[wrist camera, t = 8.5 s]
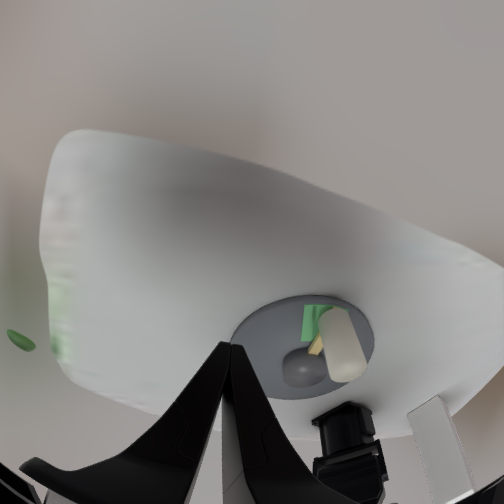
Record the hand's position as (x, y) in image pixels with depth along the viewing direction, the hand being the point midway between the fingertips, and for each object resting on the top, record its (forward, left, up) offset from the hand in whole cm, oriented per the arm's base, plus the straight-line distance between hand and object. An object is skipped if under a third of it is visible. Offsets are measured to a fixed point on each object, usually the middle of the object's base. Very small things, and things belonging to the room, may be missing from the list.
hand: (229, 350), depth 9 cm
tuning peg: (-4, -11, -10) cm, 15 cm away
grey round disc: (-6, -12, -11) cm, 17 cm away
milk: (-4, -42, -11) cm, 44 cm away
